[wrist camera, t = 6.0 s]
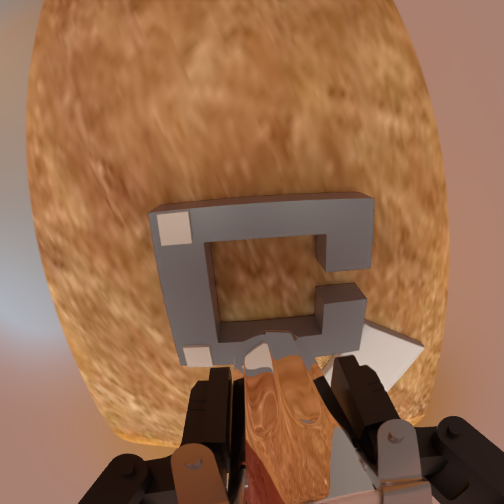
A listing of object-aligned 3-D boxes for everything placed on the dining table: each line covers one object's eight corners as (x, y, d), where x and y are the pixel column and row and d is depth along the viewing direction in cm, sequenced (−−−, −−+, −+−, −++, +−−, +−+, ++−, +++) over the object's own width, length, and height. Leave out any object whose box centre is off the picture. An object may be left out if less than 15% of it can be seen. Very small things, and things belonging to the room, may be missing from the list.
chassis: (160, 204, 18) (146, 214, 15) (358, 192, 18) (376, 199, 15) (186, 344, 21) (180, 368, 19) (349, 331, 21) (360, 352, 19)
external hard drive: (418, 338, 23) (345, 421, 26) (358, 314, 22) (283, 409, 25) (426, 348, 21) (349, 431, 25) (365, 324, 20) (285, 421, 24)
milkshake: (349, 356, 12) (443, 535, 3) (253, 403, 13) (280, 589, 4) (313, 285, 11) (455, 533, 2) (199, 346, 11) (187, 593, 2)
